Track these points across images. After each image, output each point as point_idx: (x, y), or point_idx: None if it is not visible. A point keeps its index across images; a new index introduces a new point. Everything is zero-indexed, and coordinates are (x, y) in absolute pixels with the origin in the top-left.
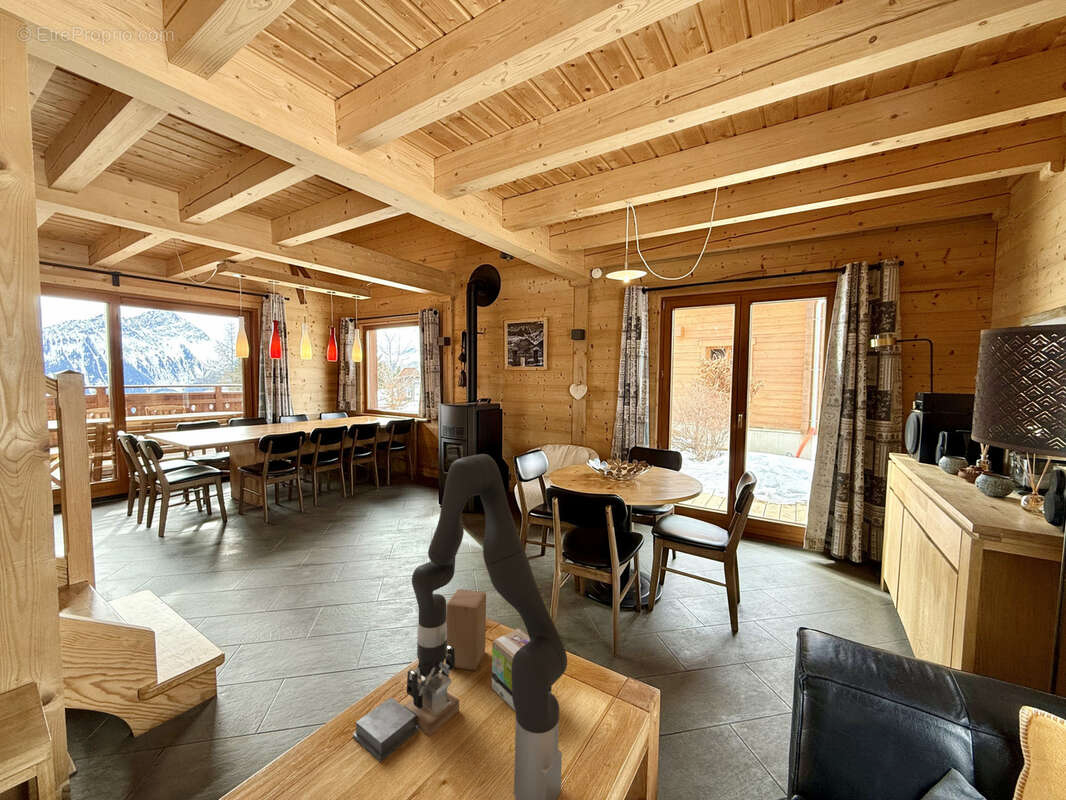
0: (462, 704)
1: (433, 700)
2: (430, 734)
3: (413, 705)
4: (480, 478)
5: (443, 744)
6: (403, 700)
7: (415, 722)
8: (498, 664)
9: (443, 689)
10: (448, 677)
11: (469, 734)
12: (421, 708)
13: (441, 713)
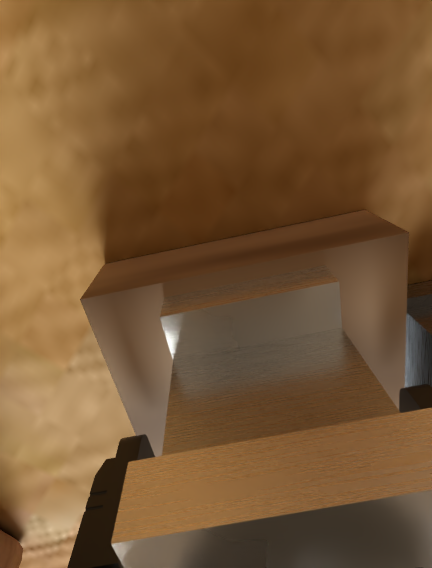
0: (59, 292)
1: (357, 381)
2: (362, 212)
3: None
4: None
5: (348, 76)
6: None
7: (425, 326)
8: None
9: (216, 435)
10: (81, 525)
11: (144, 5)
12: None
13: (273, 268)
